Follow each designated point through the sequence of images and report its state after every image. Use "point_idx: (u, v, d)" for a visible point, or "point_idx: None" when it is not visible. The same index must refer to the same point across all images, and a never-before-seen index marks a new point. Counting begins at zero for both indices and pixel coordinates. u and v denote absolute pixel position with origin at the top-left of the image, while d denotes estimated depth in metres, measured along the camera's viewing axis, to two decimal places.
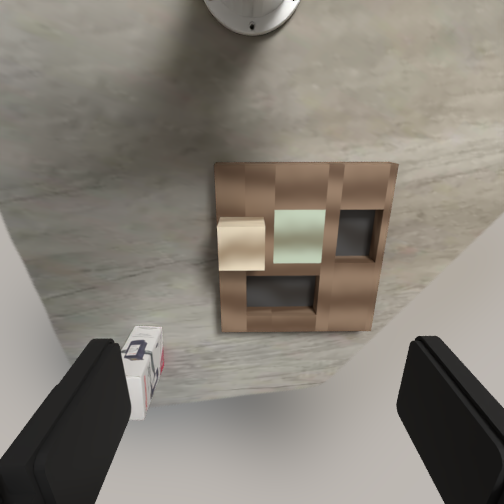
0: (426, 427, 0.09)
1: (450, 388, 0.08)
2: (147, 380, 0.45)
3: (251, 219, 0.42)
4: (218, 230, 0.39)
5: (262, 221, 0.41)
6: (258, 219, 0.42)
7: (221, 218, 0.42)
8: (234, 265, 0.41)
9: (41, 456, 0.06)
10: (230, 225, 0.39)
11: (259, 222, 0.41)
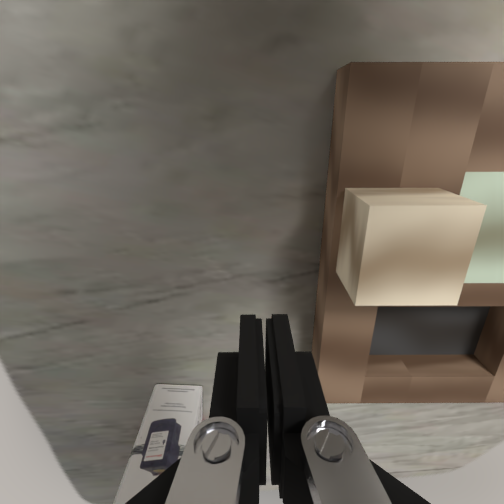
0: (267, 394, 0.10)
1: (269, 355, 0.09)
2: None
3: (421, 191, 0.19)
4: (372, 214, 0.16)
5: (454, 195, 0.18)
6: (437, 191, 0.19)
7: (351, 190, 0.20)
8: (392, 294, 0.18)
9: (261, 402, 0.07)
10: (397, 202, 0.16)
11: (451, 196, 0.18)
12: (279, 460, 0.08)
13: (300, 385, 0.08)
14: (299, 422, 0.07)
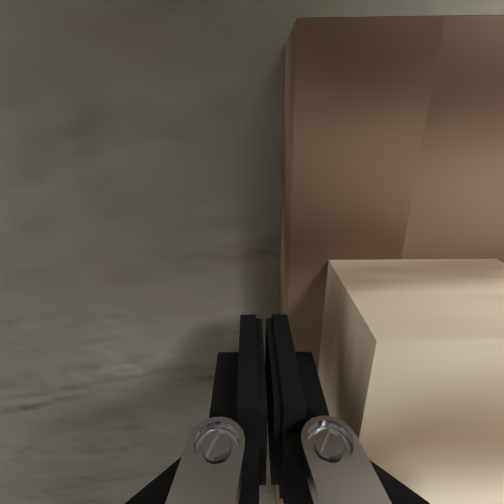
0: (267, 394, 0.10)
1: (269, 355, 0.09)
2: None
3: (471, 273, 0.10)
4: (381, 357, 0.07)
5: None
6: (500, 273, 0.10)
7: (339, 266, 0.11)
8: (420, 490, 0.09)
9: (261, 402, 0.07)
10: (435, 324, 0.07)
11: None
12: (279, 460, 0.08)
13: (300, 385, 0.08)
14: (299, 422, 0.07)
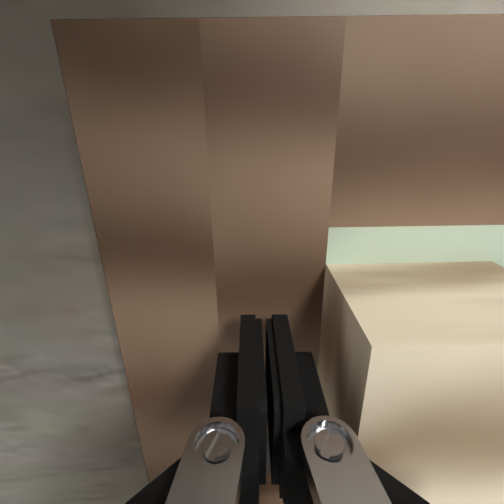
0: (267, 394, 0.10)
1: (269, 355, 0.09)
2: None
3: (467, 276, 0.10)
4: (376, 362, 0.07)
5: None
6: (496, 276, 0.10)
7: (337, 271, 0.11)
8: (419, 492, 0.09)
9: (261, 402, 0.07)
10: (430, 328, 0.08)
11: None
12: (279, 460, 0.08)
13: (300, 385, 0.08)
14: (299, 422, 0.07)
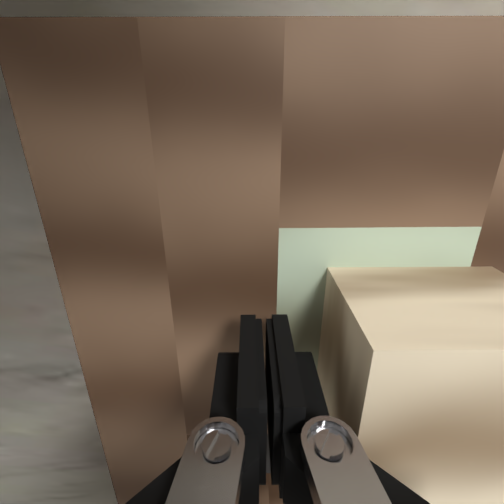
0: (267, 394, 0.10)
1: (269, 355, 0.09)
2: None
3: (467, 281, 0.10)
4: (378, 366, 0.07)
5: None
6: (496, 281, 0.10)
7: (338, 274, 0.11)
8: None
9: (261, 402, 0.07)
10: (430, 333, 0.08)
11: None
12: (279, 460, 0.08)
13: (300, 385, 0.08)
14: (299, 422, 0.07)
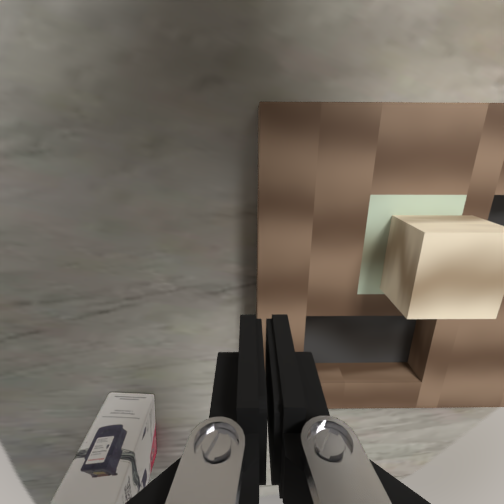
0: (267, 394, 0.10)
1: (269, 355, 0.09)
2: None
3: (460, 219, 0.22)
4: (426, 239, 0.19)
5: (490, 222, 0.21)
6: (473, 219, 0.22)
7: (399, 217, 0.22)
8: (439, 309, 0.20)
9: (261, 402, 0.07)
10: (446, 229, 0.19)
11: (489, 224, 0.21)
12: (279, 460, 0.08)
13: (300, 385, 0.08)
14: (299, 422, 0.07)
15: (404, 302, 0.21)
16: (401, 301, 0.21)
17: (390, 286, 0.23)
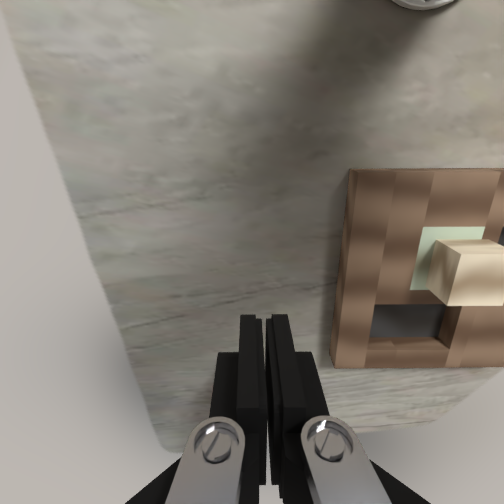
0: (267, 394, 0.10)
1: (269, 355, 0.09)
2: None
3: (481, 242, 0.34)
4: (461, 258, 0.31)
5: (500, 246, 0.33)
6: (489, 242, 0.34)
7: (441, 241, 0.35)
8: (467, 299, 0.33)
9: (261, 402, 0.07)
10: (473, 252, 0.32)
11: (499, 247, 0.33)
12: (279, 460, 0.08)
13: (300, 385, 0.08)
14: (299, 422, 0.07)
15: (445, 295, 0.34)
16: (443, 295, 0.34)
17: (434, 285, 0.36)
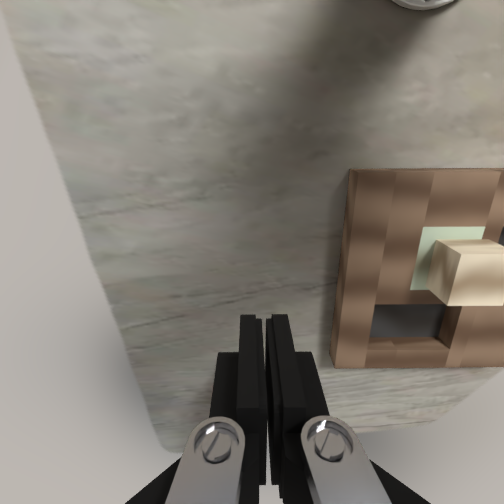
0: (267, 394, 0.10)
1: (269, 355, 0.09)
2: None
3: (481, 242, 0.34)
4: (461, 258, 0.31)
5: (500, 245, 0.33)
6: (489, 242, 0.34)
7: (441, 241, 0.35)
8: (467, 299, 0.33)
9: (261, 402, 0.07)
10: (473, 252, 0.32)
11: (499, 247, 0.33)
12: (279, 460, 0.08)
13: (300, 385, 0.08)
14: (299, 422, 0.07)
15: (445, 295, 0.34)
16: (443, 295, 0.34)
17: (434, 285, 0.36)
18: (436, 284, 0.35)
